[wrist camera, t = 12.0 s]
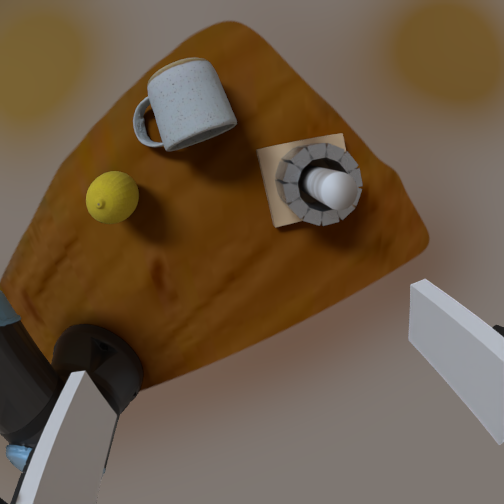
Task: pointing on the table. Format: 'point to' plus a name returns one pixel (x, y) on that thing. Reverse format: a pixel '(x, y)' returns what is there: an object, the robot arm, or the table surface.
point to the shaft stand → (306, 180)
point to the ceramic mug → (185, 105)
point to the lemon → (112, 197)
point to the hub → (291, 172)
